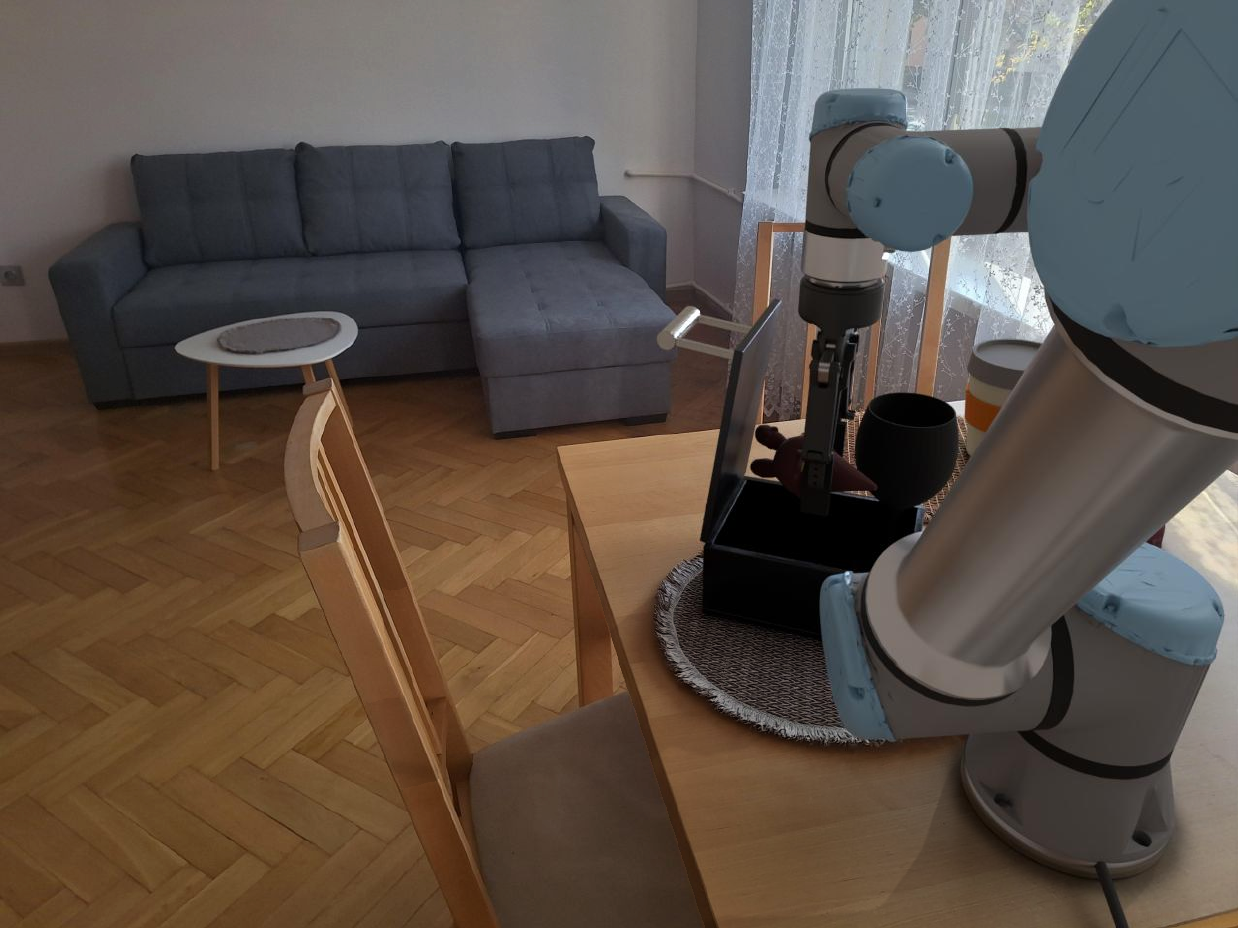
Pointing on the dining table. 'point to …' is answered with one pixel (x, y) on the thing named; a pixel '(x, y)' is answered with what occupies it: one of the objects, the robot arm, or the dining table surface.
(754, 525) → the black open box
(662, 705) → the dining table surface
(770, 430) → the icecream
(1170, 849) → the dining table surface
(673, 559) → the dining table surface
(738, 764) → the dining table surface
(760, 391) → the lid
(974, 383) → the reusable coffee cup
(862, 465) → the wine glass
